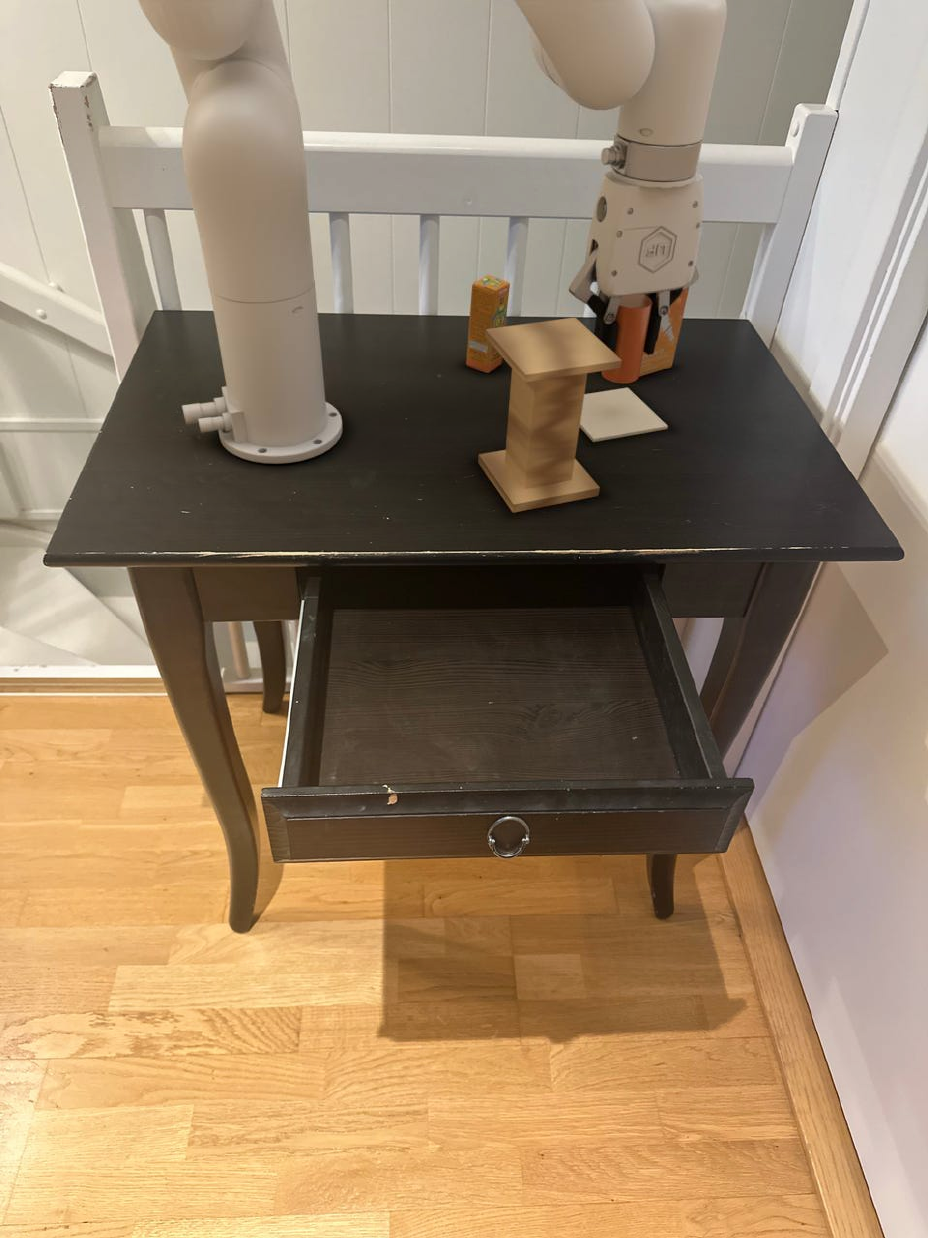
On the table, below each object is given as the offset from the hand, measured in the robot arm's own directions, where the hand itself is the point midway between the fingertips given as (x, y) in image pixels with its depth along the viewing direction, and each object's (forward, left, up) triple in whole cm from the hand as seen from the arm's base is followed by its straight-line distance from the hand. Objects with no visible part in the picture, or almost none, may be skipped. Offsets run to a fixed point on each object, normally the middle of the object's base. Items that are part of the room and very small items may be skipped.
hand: (623, 350), depth 87 cm
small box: (+8, +10, -8) cm, 15 cm away
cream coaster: (0, 0, -7) cm, 7 cm away
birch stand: (-13, -9, -7) cm, 18 cm away
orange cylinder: (0, 0, -3) cm, 3 cm away
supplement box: (-9, +15, -8) cm, 19 cm away
